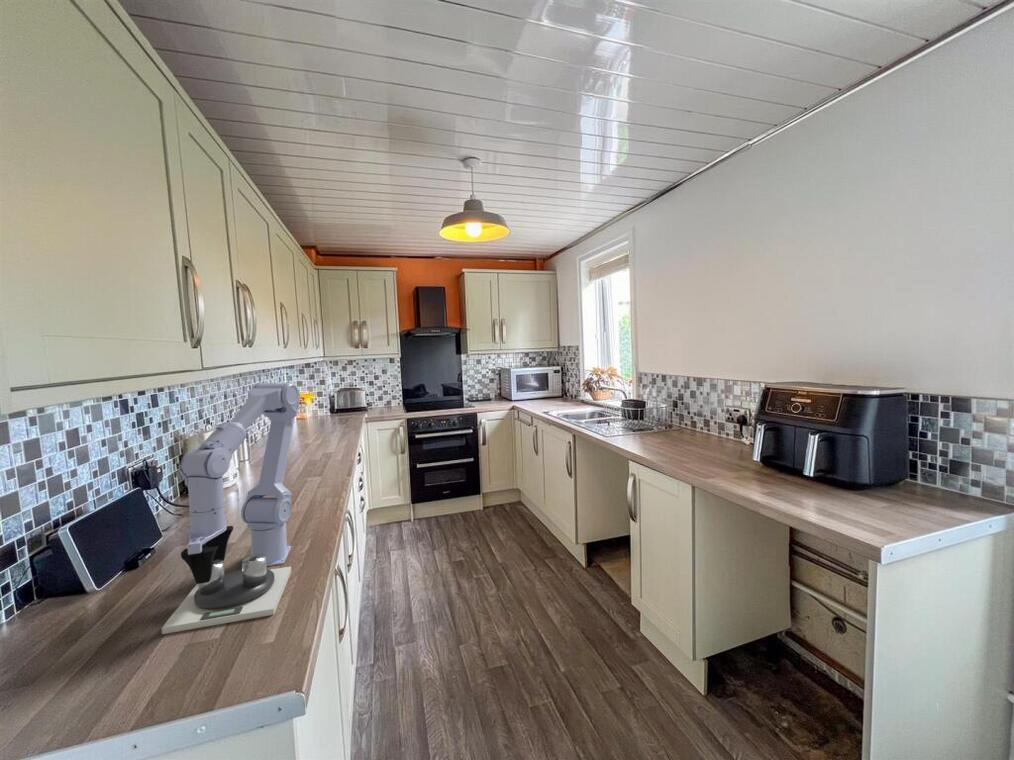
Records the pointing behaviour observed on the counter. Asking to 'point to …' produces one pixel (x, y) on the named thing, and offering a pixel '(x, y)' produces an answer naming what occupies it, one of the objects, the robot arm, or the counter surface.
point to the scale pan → (232, 592)
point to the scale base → (199, 617)
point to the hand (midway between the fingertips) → (210, 572)
